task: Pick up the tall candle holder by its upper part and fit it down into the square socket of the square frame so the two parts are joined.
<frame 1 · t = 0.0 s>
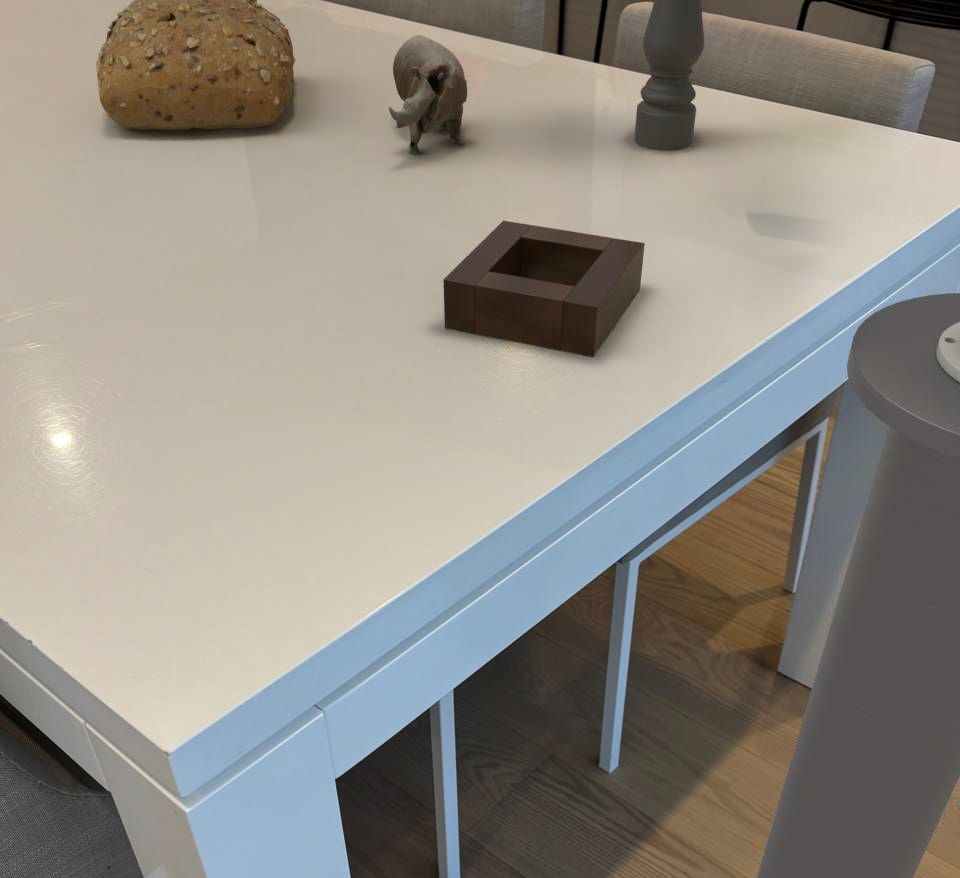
candle holder: (662, 142, 115), on the table
bread: (209, 107, 125), on the table
rhinoceros figurine: (428, 144, 115), on the table
square frame: (545, 309, 86), on the table
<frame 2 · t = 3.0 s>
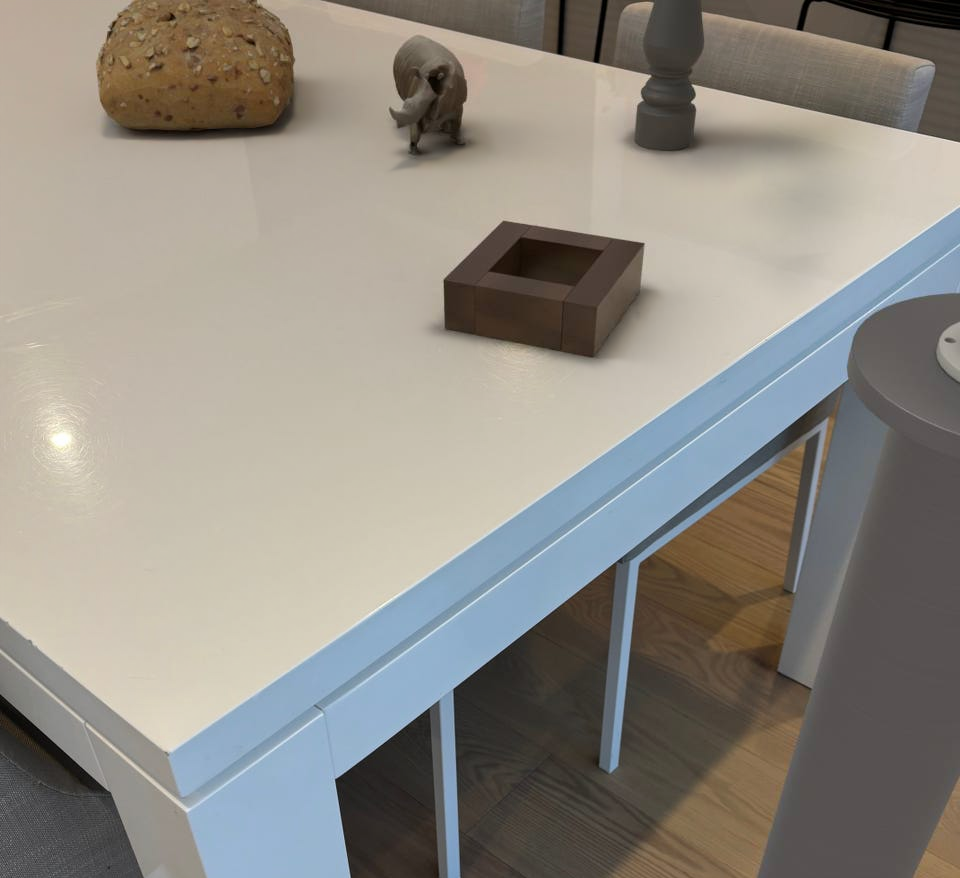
candle holder: (662, 142, 115), on the table, touching gripper
everything else where it was.
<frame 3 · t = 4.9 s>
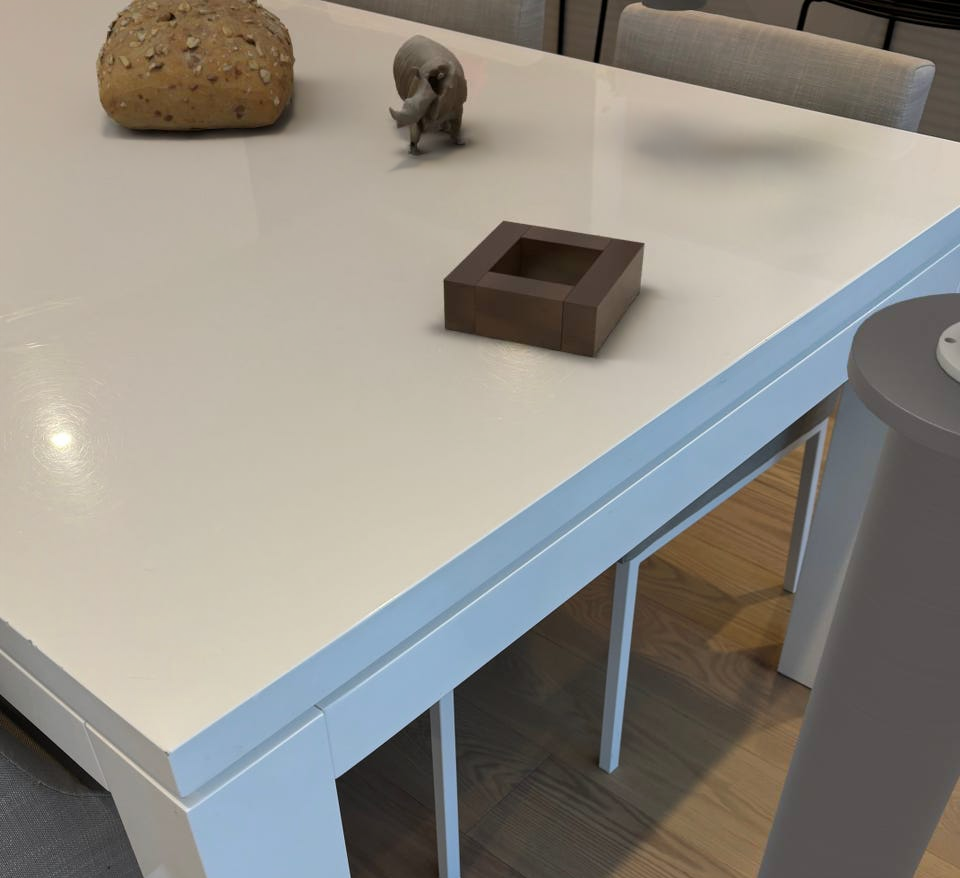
candle holder: (673, 5, 103), point 14 cm above the table, touching gripper
everything else where it was.
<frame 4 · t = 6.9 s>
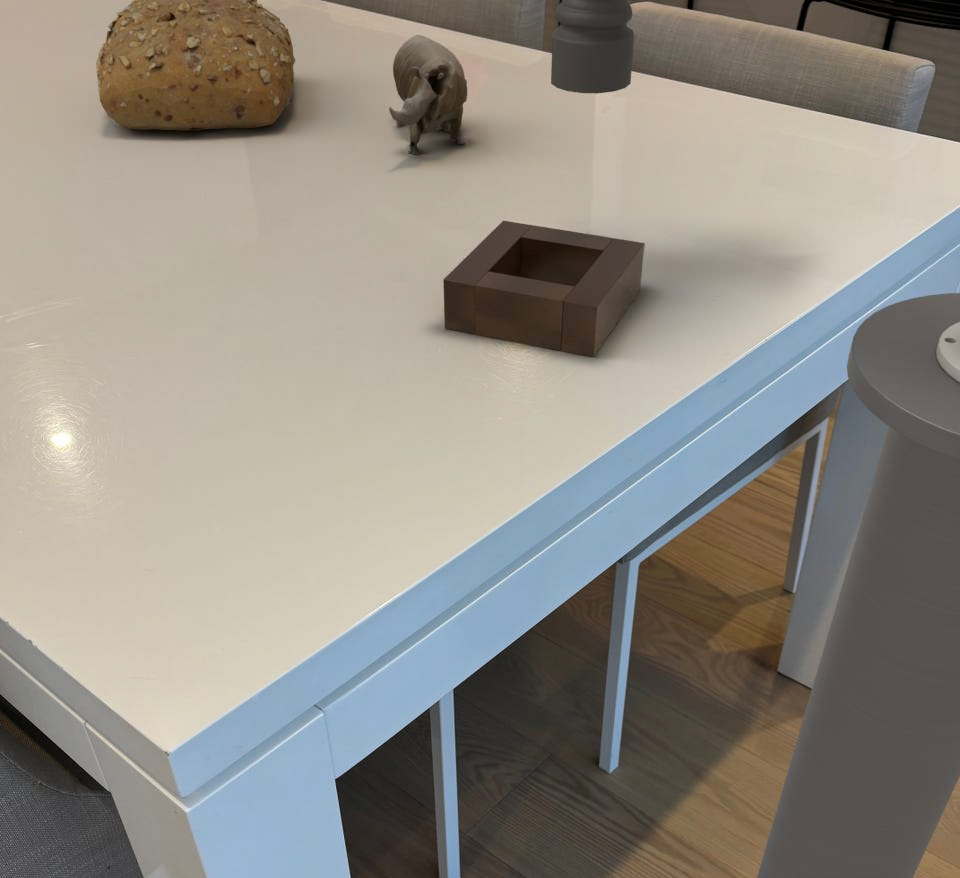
candle holder: (590, 84, 83), point 14 cm above the table, touching gripper
everything else where it was.
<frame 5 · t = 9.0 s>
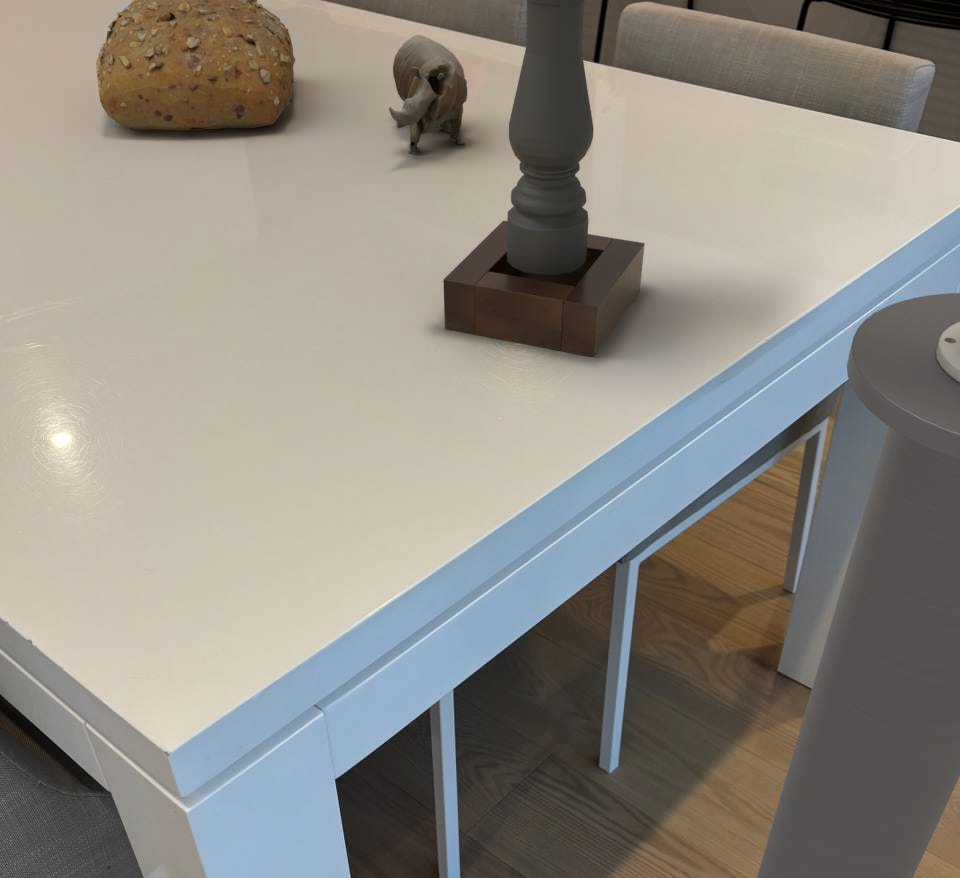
candle holder: (546, 260, 84), point 4 cm above the table, touching gripper
everything else where it was.
when the fingers open (20 cm above the table, at t = 10.6 s): candle holder stays where it is, resting in square frame.
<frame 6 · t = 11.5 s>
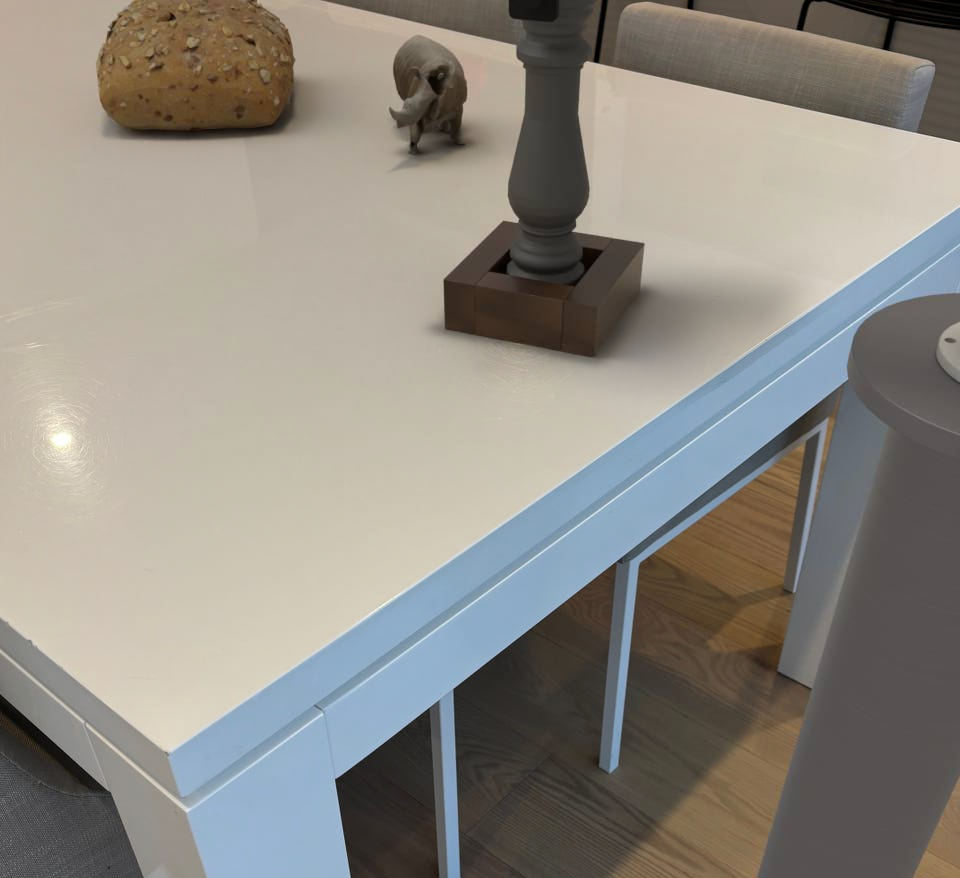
hand: (559, 1, 71), 22 cm above the table, tool pointing down, fingers open, 9 cm apart
candle holder: (544, 310, 86), resting in square frame
everything else where it was.
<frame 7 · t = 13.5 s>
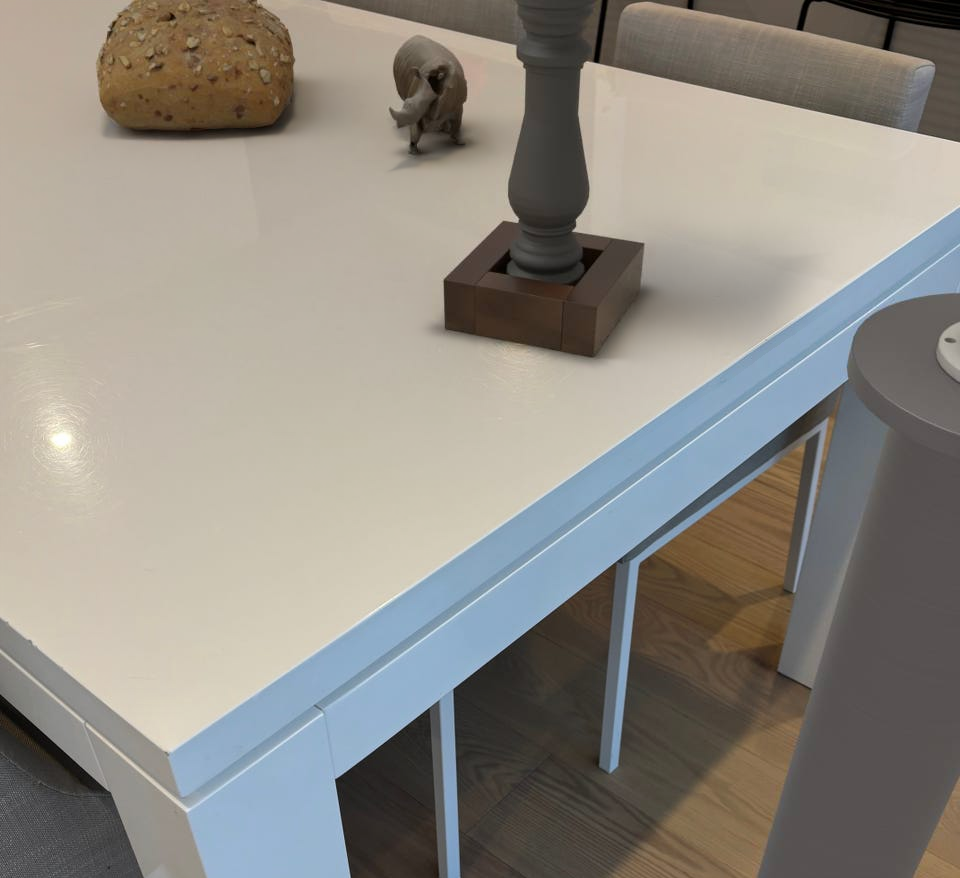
nothing on the table moved.
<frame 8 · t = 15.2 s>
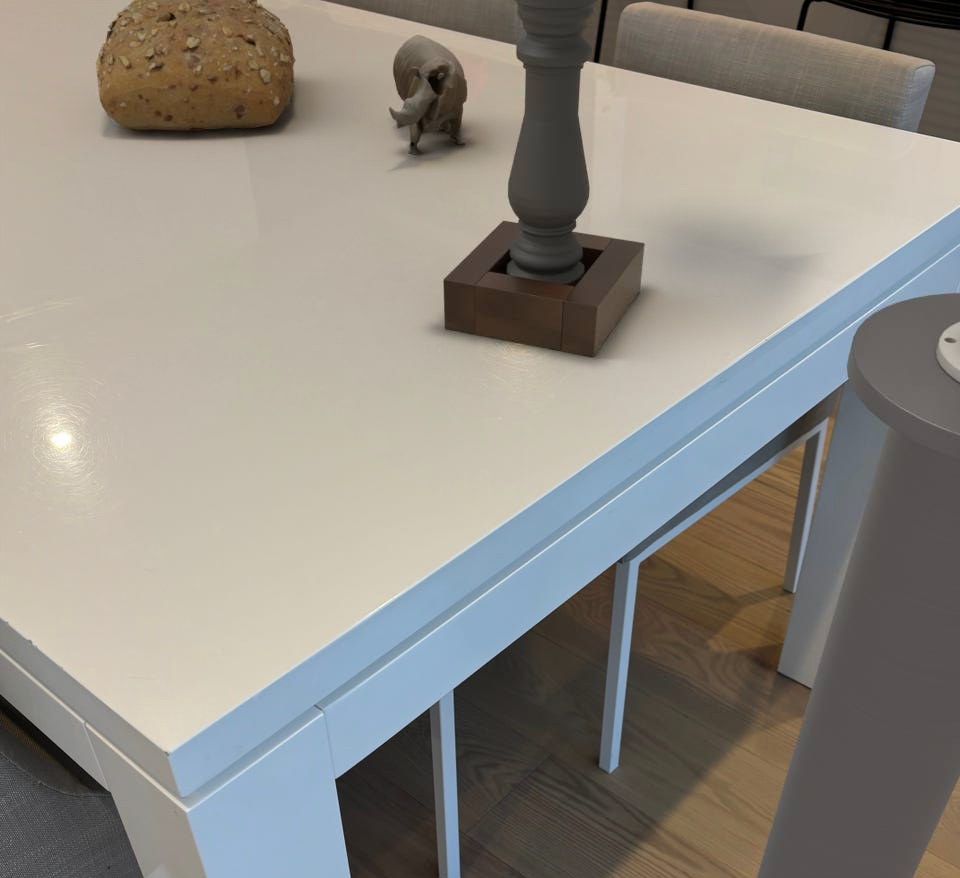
nothing on the table moved.
at the end: candle holder 0.1 cm off-centre in the square frame, point 0.0 cm above the square frame's base; candle holder tilted 0°; the gripper is holding nothing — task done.
